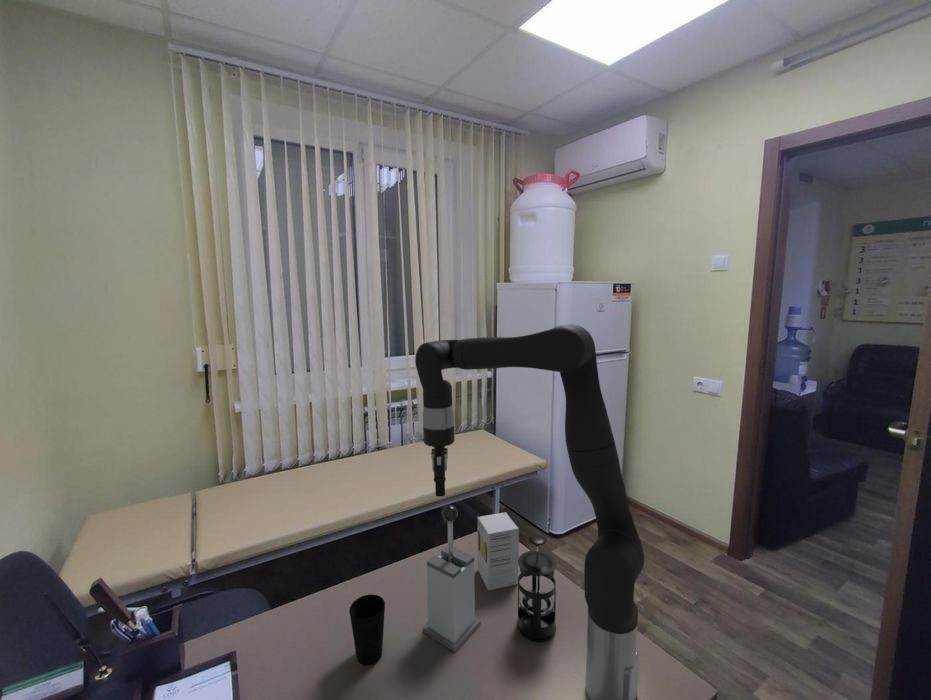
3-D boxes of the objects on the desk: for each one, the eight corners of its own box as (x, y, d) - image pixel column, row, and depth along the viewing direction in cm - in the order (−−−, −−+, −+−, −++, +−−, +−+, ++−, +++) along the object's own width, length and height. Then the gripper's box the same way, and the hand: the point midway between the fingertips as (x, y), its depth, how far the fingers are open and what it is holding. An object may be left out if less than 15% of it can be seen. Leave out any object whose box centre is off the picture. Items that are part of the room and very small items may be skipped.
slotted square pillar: (480, 624, 100) (480, 556, 98) (455, 652, 93) (454, 579, 90) (449, 606, 106) (447, 541, 104) (422, 631, 99) (420, 561, 96)
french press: (557, 646, 94) (559, 553, 91) (516, 642, 95) (517, 550, 92) (553, 608, 105) (555, 524, 102) (517, 605, 107) (517, 522, 104)
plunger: (468, 570, 98) (467, 504, 96) (452, 583, 94) (451, 515, 92) (449, 561, 102) (448, 497, 100) (433, 573, 97) (432, 507, 95)
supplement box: (476, 569, 121) (476, 516, 119) (505, 563, 123) (505, 510, 121) (488, 591, 112) (488, 534, 109) (519, 584, 114) (519, 527, 112)
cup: (351, 674, 87) (349, 623, 86) (351, 645, 95) (349, 597, 93) (388, 665, 89) (386, 615, 88) (385, 637, 97) (383, 591, 95)
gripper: (454, 432, 92) (456, 500, 94) (453, 415, 106) (455, 475, 108) (421, 433, 92) (423, 502, 93) (424, 416, 106) (426, 476, 108)
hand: (440, 487), depth 101 cm, fingers open, 8 cm apart
